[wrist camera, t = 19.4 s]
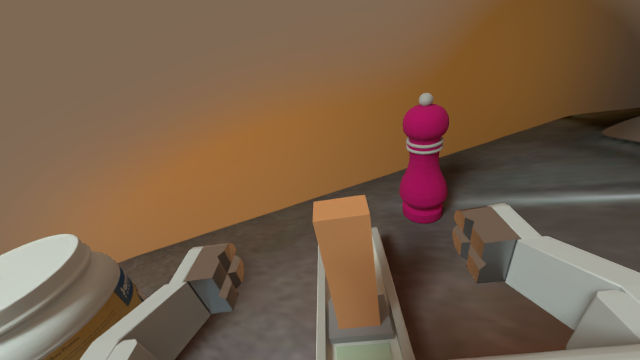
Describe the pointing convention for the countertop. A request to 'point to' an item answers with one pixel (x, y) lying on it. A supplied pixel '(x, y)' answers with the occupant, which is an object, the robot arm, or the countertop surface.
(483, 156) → the countertop surface
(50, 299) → the supplement tub
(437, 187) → the pepper mill
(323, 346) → the white base plate
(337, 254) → the lever
